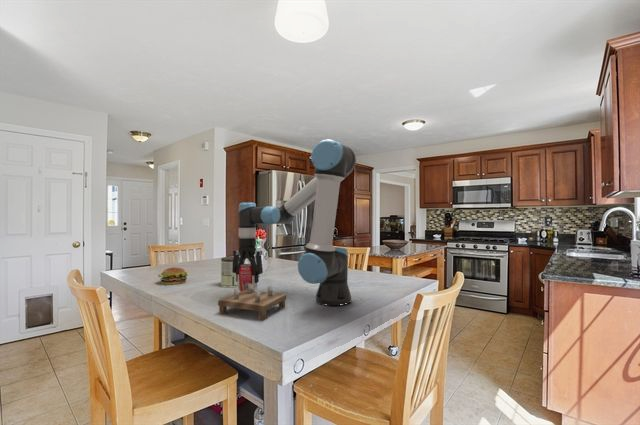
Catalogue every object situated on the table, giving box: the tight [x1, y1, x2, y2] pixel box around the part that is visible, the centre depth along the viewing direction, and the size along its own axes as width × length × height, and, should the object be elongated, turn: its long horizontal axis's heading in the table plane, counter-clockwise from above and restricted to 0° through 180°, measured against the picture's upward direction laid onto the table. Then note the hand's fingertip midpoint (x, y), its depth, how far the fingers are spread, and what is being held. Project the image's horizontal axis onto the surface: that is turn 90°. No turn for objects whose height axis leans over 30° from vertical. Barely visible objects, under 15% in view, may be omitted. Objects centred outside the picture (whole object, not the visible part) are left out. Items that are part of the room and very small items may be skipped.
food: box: [157, 266, 188, 286], centre depth 164 cm, size 14×14×8 cm
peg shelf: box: [217, 284, 287, 321], centre depth 117 cm, size 19×17×8 cm
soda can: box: [239, 263, 254, 292], centre depth 137 cm, size 7×7×12 cm
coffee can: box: [220, 256, 240, 288], centre depth 159 cm, size 10×10×14 cm
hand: (247, 289), depth 137 cm, fingers closed on soda can, 7 cm apart
